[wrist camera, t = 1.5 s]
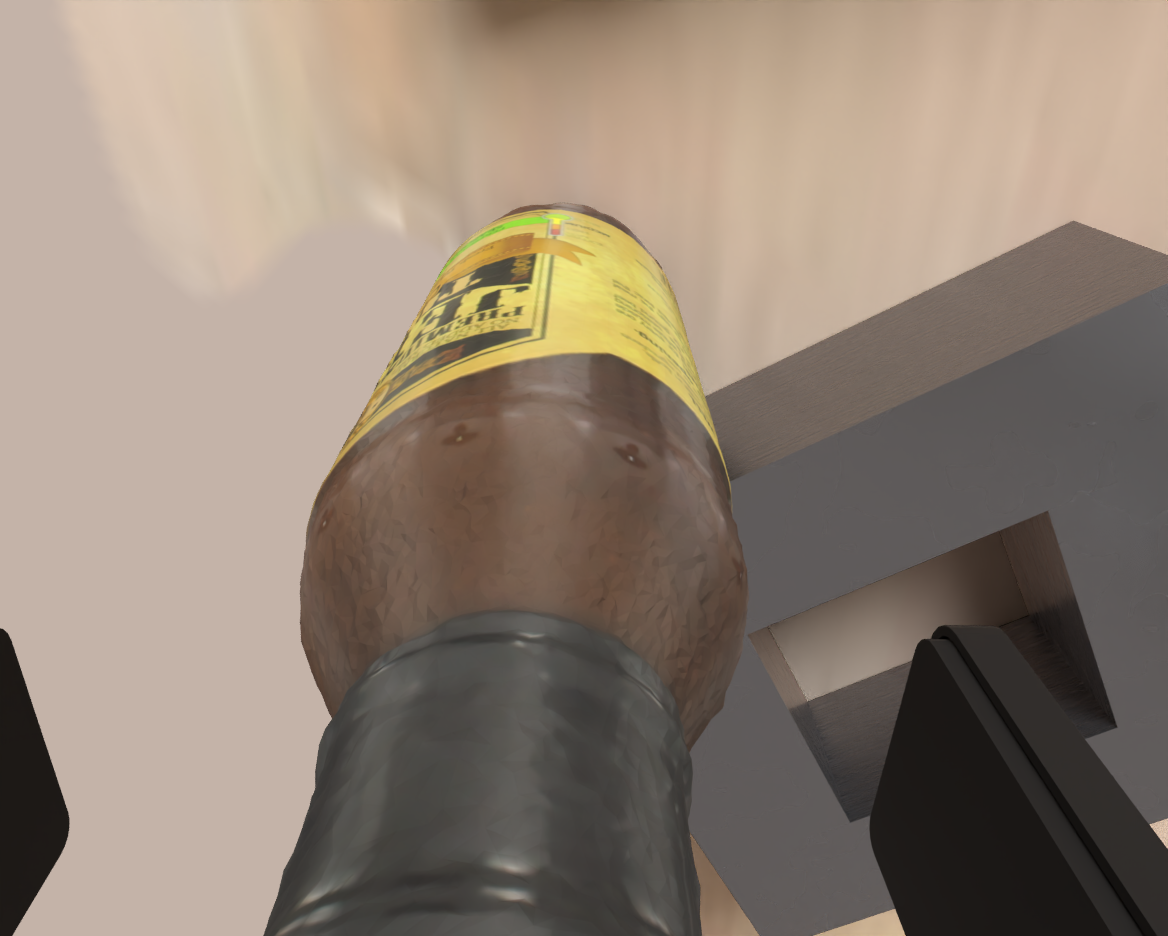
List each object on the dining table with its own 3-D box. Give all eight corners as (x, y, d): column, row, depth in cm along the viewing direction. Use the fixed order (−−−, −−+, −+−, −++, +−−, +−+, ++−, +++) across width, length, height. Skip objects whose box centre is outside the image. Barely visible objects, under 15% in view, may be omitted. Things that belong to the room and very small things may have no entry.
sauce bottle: (515, 143, 21) (188, 741, 3) (718, 281, 23) (1266, 1201, 5) (392, 352, 23) (-190, 1370, 6) (584, 464, 25) (612, 1533, 7)
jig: (1186, 657, 28) (1301, 773, 24) (741, 820, 32) (769, 950, 27) (1073, 220, 22) (1202, 267, 17) (528, 481, 25) (518, 577, 21)
